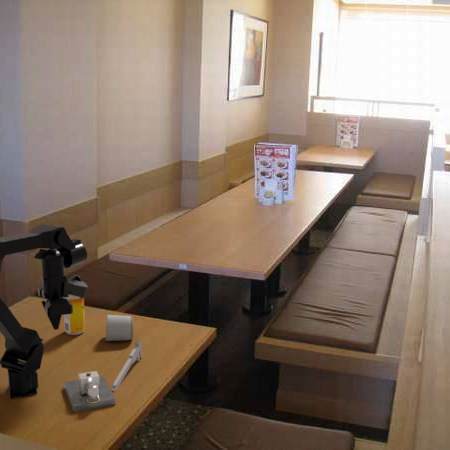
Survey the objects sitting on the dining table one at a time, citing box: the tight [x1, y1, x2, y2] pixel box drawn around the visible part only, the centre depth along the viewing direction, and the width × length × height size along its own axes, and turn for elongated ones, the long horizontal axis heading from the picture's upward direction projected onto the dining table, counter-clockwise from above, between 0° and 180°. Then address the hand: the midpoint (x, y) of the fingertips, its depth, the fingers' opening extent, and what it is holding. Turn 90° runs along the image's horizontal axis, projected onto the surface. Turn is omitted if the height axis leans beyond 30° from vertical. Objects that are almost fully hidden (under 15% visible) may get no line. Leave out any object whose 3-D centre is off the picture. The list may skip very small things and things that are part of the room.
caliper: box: [110, 339, 143, 392], centre depth 170 cm, size 20×1×6 cm, turn 168°
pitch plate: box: [63, 375, 116, 413], centre depth 158 cm, size 10×13×5 cm
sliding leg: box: [78, 370, 100, 394], centre depth 157 cm, size 4×3×4 cm
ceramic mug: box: [105, 314, 134, 342], centre depth 193 cm, size 11×8×8 cm
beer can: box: [62, 295, 86, 336], centre depth 196 cm, size 6×6×15 cm
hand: (56, 329), depth 169 cm, fingers closed
